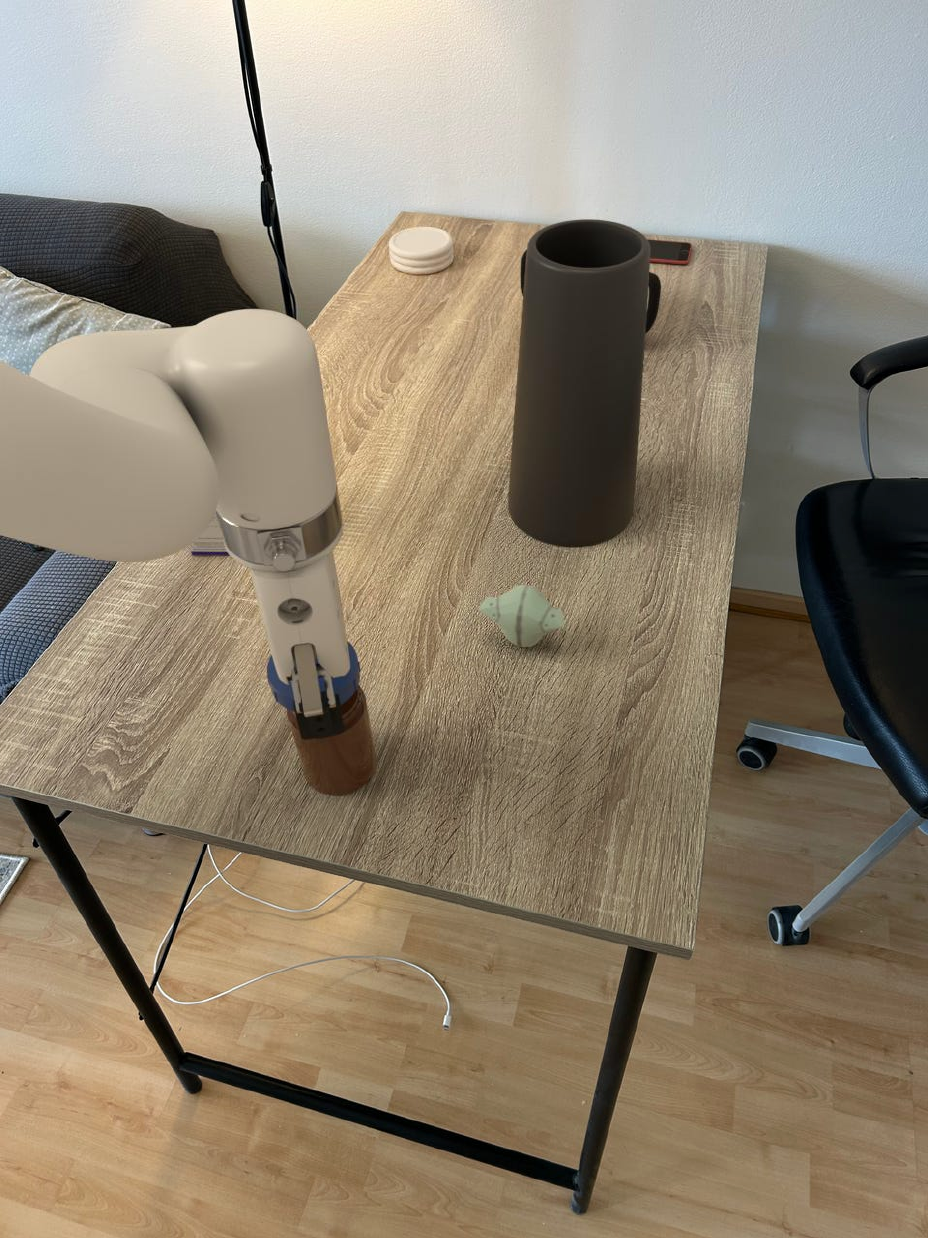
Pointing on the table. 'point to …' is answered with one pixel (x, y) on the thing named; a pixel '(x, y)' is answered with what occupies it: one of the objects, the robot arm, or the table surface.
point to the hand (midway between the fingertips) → (318, 694)
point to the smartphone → (669, 251)
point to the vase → (579, 382)
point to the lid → (340, 684)
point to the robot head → (523, 615)
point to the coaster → (421, 250)
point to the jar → (339, 751)
